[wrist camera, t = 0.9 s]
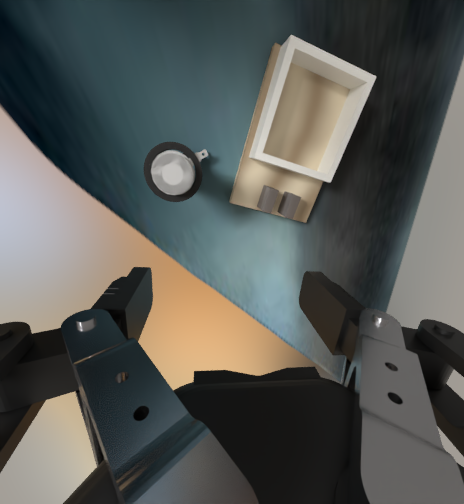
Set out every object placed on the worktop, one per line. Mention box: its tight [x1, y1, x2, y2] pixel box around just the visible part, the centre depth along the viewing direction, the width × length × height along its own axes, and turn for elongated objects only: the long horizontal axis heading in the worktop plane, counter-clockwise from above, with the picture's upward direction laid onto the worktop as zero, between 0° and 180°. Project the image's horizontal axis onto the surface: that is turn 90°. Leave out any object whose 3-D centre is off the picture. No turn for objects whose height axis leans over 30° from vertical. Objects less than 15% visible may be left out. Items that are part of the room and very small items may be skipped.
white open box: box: [249, 35, 376, 183], centre depth 26 cm, size 11×12×3 cm
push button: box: [144, 142, 208, 202], centre depth 24 cm, size 7×5×10 cm
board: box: [229, 43, 350, 223], centre depth 28 cm, size 12×18×4 cm, turn 164°
